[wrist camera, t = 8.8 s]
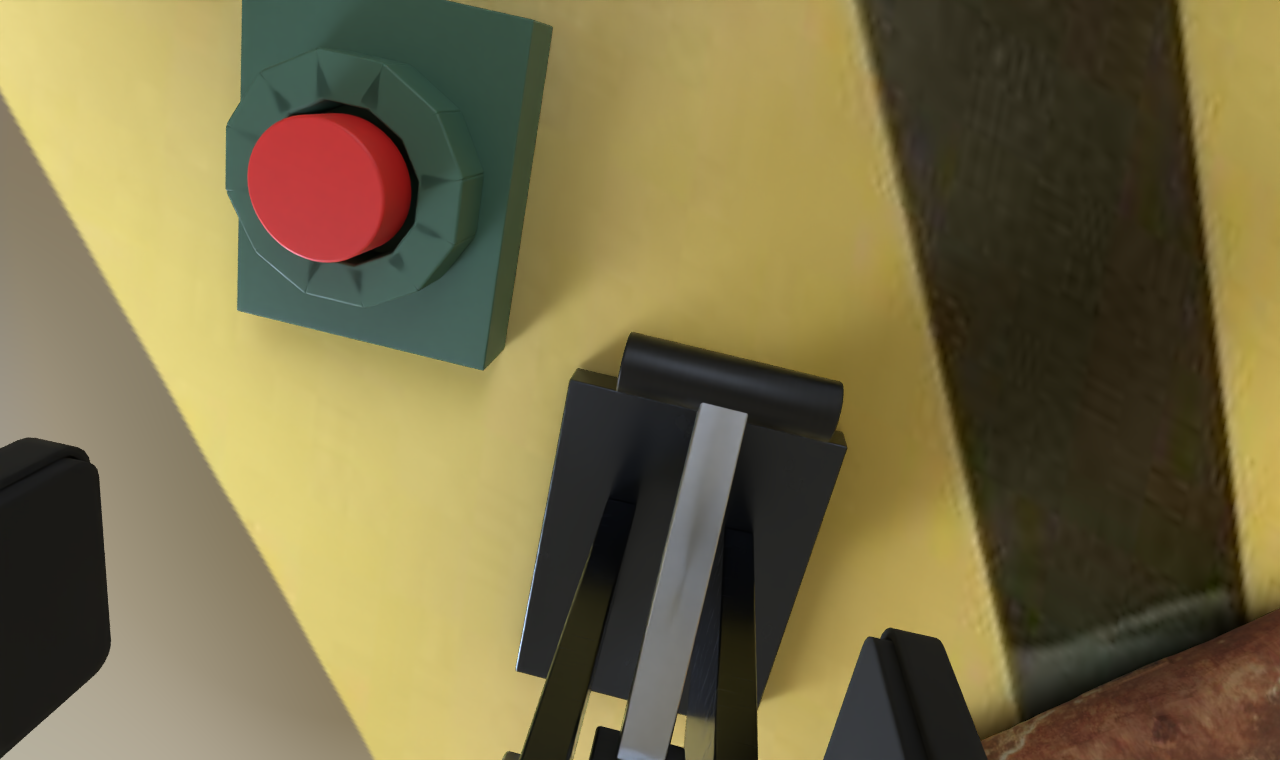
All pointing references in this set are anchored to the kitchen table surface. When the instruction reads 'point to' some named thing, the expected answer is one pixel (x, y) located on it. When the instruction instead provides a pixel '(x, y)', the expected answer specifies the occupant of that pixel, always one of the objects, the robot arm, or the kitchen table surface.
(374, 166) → the button
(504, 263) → the button box
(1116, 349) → the kitchen table surface
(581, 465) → the bracket
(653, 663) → the lever
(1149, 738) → the salami
